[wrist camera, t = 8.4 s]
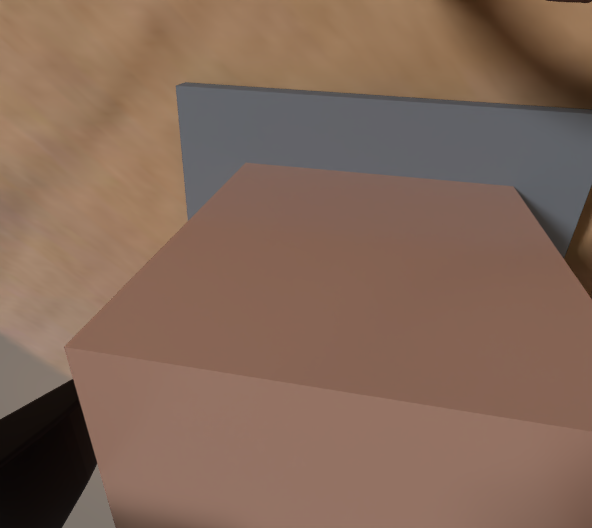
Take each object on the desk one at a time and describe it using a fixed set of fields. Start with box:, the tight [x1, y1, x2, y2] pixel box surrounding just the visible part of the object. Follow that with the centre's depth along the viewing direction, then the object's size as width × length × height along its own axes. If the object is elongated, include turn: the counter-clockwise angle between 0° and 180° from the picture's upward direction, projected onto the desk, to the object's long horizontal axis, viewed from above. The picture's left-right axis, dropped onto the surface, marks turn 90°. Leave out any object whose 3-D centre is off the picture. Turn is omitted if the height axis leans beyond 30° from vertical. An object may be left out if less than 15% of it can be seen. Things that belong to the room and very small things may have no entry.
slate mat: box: [176, 82, 592, 259], centre depth 13 cm, size 10×10×1 cm
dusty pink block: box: [64, 163, 592, 528], centre depth 10 cm, size 7×7×8 cm
